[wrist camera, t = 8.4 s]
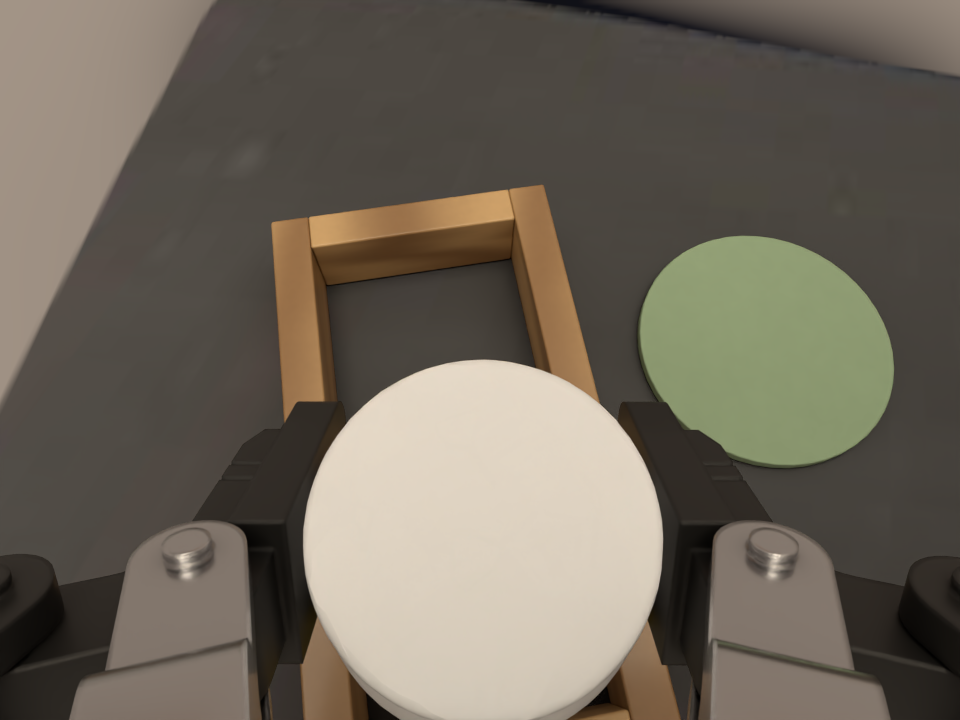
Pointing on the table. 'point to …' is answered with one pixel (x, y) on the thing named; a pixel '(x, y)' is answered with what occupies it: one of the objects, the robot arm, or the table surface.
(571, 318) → the rack
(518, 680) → the supplement bottle
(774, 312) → the coaster
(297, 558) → the robot arm
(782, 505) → the table surface
